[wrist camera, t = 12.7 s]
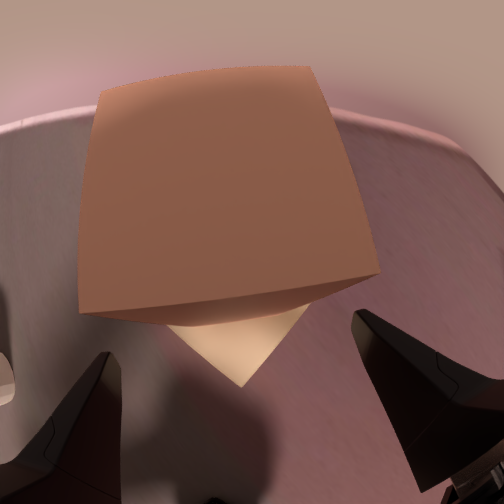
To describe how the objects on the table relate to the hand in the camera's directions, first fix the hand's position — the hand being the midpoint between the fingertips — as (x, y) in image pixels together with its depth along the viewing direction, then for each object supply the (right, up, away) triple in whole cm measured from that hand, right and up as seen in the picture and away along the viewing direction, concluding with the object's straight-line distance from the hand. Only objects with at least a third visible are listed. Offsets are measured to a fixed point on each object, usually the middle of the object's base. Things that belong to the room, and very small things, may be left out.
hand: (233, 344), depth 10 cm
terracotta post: (-1, +1, +9) cm, 9 cm away
